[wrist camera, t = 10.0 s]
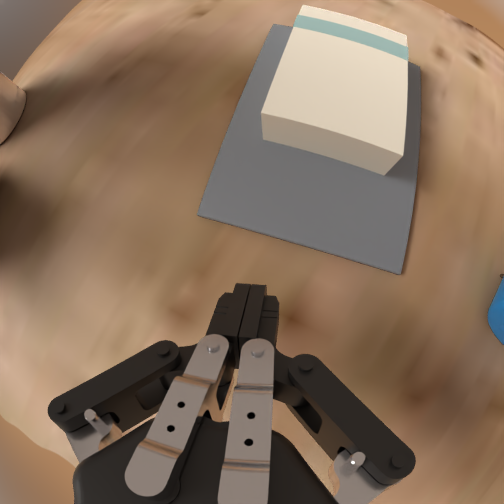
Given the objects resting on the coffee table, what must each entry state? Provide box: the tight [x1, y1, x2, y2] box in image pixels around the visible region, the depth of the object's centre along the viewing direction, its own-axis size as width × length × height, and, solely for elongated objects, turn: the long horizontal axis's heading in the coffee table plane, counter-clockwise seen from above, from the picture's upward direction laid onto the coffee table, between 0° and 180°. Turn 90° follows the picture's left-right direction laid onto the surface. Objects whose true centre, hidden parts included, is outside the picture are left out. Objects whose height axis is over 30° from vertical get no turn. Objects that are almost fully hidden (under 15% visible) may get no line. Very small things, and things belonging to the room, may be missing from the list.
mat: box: [197, 24, 421, 275], centre depth 22 cm, size 22×16×1 cm
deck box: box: [261, 5, 408, 176], centre depth 20 cm, size 4×10×14 cm
